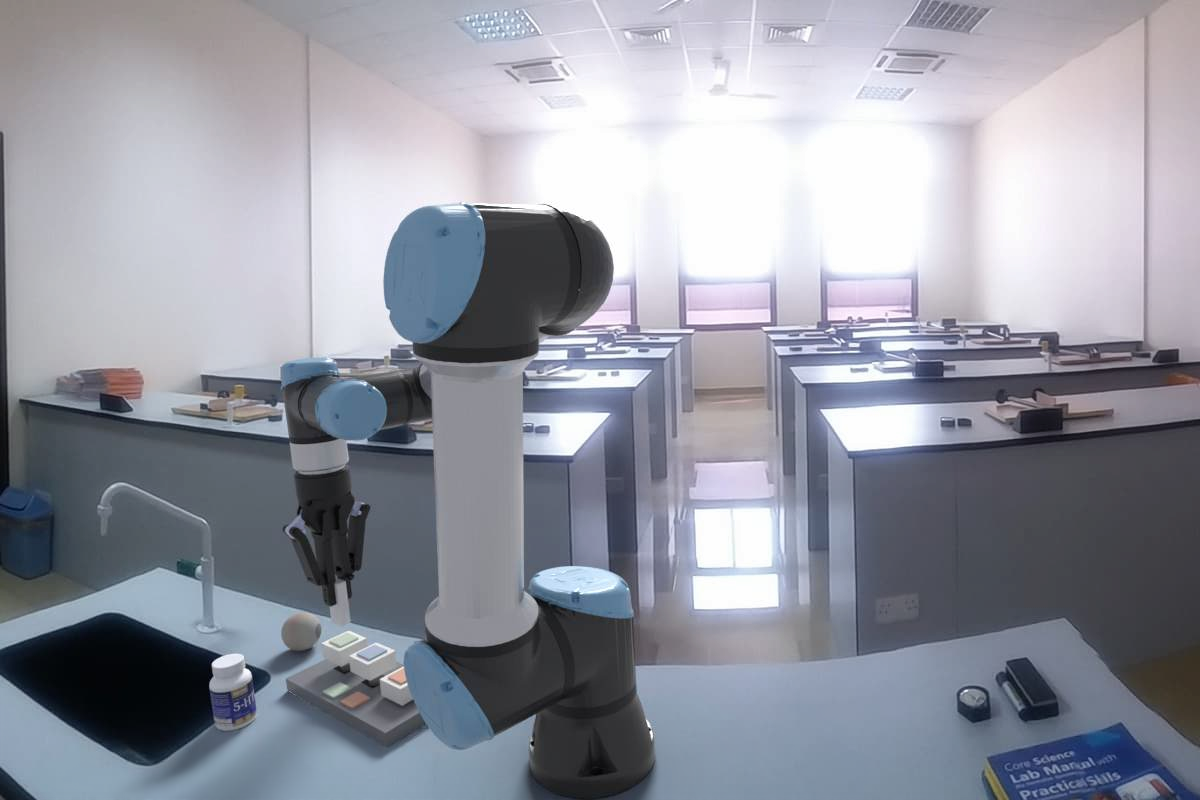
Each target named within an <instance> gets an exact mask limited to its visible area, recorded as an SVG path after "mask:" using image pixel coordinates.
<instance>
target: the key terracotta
mask: <svg viewBox="0 0 1200 800" xmlns="http://www.w3.org/2000/svg"><path fill="white" fill-rule="evenodd" d="M380 687H381V695H382V696H384V697H386V698H388V699H390V700H392V701H394V702H396V703H398V704H400V705H402V706H403V705H405V704H406V703H408V702H410V701H412V700H413V698H412V695H411V693H410V690H409V687H408V684H407V680H406V676H405V671H404V666H403V667H402V668H400V669H398V670H396V671H394V672H392V673H390V674H388V675H387V676H385V677H383V678H381V679H380Z"/></svg>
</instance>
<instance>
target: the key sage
mask: <svg viewBox="0 0 1200 800" xmlns="http://www.w3.org/2000/svg"><path fill="white" fill-rule="evenodd" d="M368 646H369V645H368V639H367V637H364V636H363V635H360V634H357V633H355V632H353V631H351V630H346V631H345V632H342V633H341V634H338V635H336V636H334V637H331V638H330V639H327V640H325V641H323V642H321V651H322V657H323V660H325V659H326V660H328V661H330V662H332V663H334V664H336V665H338V666H340V670H341V671H343V672H347V671H351V670H350V662H349V656H350V655H352V654H354V653H356V652H358V651H360V650H362V649H364V648H366V647H368Z"/></svg>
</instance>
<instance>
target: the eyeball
mask: <svg viewBox="0 0 1200 800" xmlns="http://www.w3.org/2000/svg"><path fill="white" fill-rule="evenodd" d="M280 633H281V634H280V635H281V640H282V642H283V644H284V645H285V647H287V648H288V649H290V650H291V651H295V652H302V651H306V650H308V649H311V648H312V647H314V646H315V645H316V644H317V642H318V641H319V640H320V637H321V635H322V625H321V623H320V620H319V618H317V616H315V614H312V613H309V612H304V611H303V612H302V611H300V612H297V613H294V614H293V615H290V616H289V617H288V618H286V620H285V621H284V623H283V625H282V627H281V632H280Z"/></svg>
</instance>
